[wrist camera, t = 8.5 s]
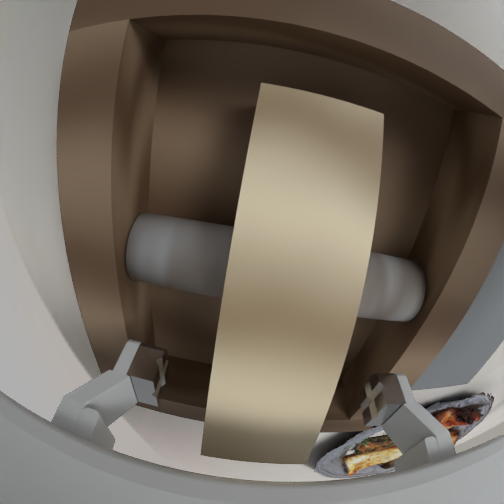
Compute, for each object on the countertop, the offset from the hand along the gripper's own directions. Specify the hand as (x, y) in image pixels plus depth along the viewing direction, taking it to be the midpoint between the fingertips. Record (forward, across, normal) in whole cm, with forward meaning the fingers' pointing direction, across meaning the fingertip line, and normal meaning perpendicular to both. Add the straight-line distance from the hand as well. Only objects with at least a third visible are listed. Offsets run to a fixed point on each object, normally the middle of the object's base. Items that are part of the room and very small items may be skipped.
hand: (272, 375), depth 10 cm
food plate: (+6, -23, +22) cm, 32 cm away
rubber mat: (+6, -17, 0) cm, 18 cm away
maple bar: (+1, 0, -3) cm, 3 cm away
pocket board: (+6, 0, -2) cm, 6 cm away
